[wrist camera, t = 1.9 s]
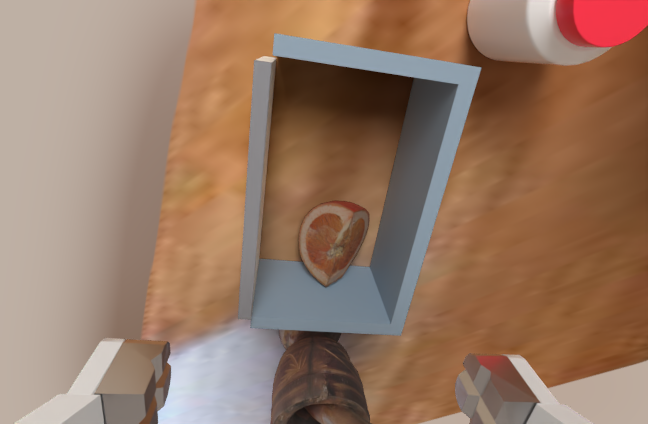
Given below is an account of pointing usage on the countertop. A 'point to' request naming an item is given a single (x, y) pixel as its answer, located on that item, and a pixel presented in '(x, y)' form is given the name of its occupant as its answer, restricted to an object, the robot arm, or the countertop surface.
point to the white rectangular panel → (256, 179)
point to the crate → (399, 209)
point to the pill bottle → (553, 28)
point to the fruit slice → (332, 238)
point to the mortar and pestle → (316, 382)
